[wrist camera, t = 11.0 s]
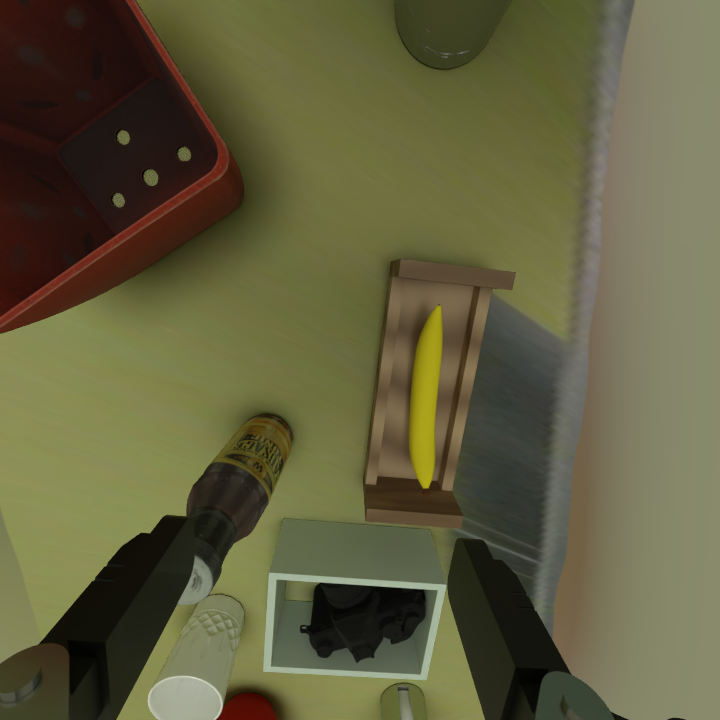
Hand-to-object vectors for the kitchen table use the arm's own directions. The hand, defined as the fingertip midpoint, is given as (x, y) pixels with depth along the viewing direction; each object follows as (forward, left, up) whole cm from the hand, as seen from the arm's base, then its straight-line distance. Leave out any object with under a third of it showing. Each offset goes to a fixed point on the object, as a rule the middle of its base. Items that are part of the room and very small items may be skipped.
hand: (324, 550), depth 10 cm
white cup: (+38, -13, -28) cm, 49 cm away
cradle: (+3, +9, -28) cm, 30 cm away
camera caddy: (+29, +4, -28) cm, 41 cm away
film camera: (+28, +5, -28) cm, 41 cm away
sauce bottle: (+11, -8, -28) cm, 31 cm away
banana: (+3, +9, -27) cm, 29 cm away
